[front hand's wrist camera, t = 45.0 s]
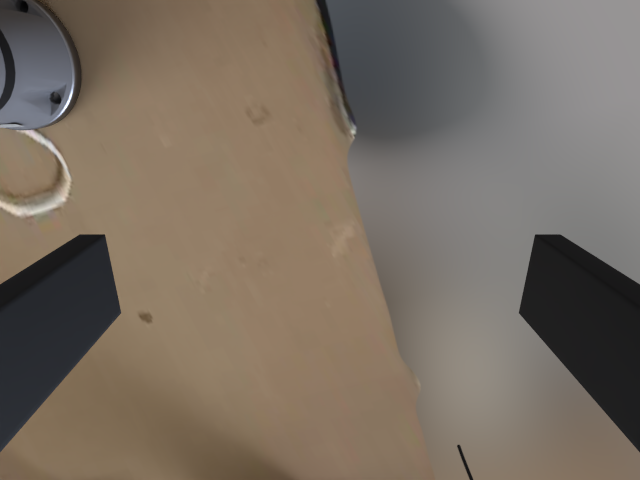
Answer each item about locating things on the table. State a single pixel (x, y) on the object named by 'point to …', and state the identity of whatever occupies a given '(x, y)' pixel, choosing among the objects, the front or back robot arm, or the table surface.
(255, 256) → the table surface
